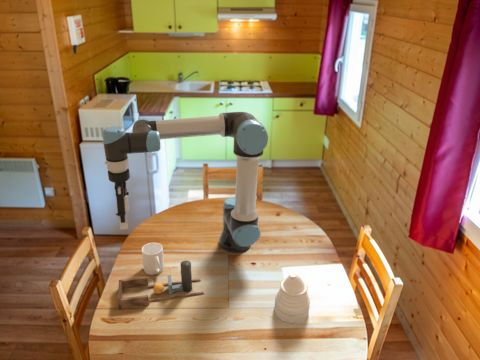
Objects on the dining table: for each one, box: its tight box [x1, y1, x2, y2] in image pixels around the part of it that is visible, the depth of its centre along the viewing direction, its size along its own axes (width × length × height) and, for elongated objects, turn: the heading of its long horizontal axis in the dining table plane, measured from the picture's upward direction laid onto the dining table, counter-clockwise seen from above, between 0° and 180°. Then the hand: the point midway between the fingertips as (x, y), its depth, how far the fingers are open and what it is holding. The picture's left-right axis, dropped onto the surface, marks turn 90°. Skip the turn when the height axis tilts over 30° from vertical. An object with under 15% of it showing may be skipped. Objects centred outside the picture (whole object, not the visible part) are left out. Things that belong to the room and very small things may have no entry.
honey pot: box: [273, 271, 311, 324], centre depth 145 cm, size 13×13×18 cm
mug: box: [141, 242, 165, 276], centre depth 166 cm, size 9×12×11 cm
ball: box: [153, 283, 165, 295], centre depth 155 cm, size 4×4×4 cm
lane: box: [147, 278, 204, 303], centre depth 157 cm, size 21×9×1 cm, turn 103°
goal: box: [117, 276, 150, 310], centre depth 153 cm, size 11×12×4 cm
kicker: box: [167, 260, 193, 295], centre depth 155 cm, size 9×6×12 cm, turn 103°
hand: (124, 219), depth 153 cm, fingers open, 13 cm apart
